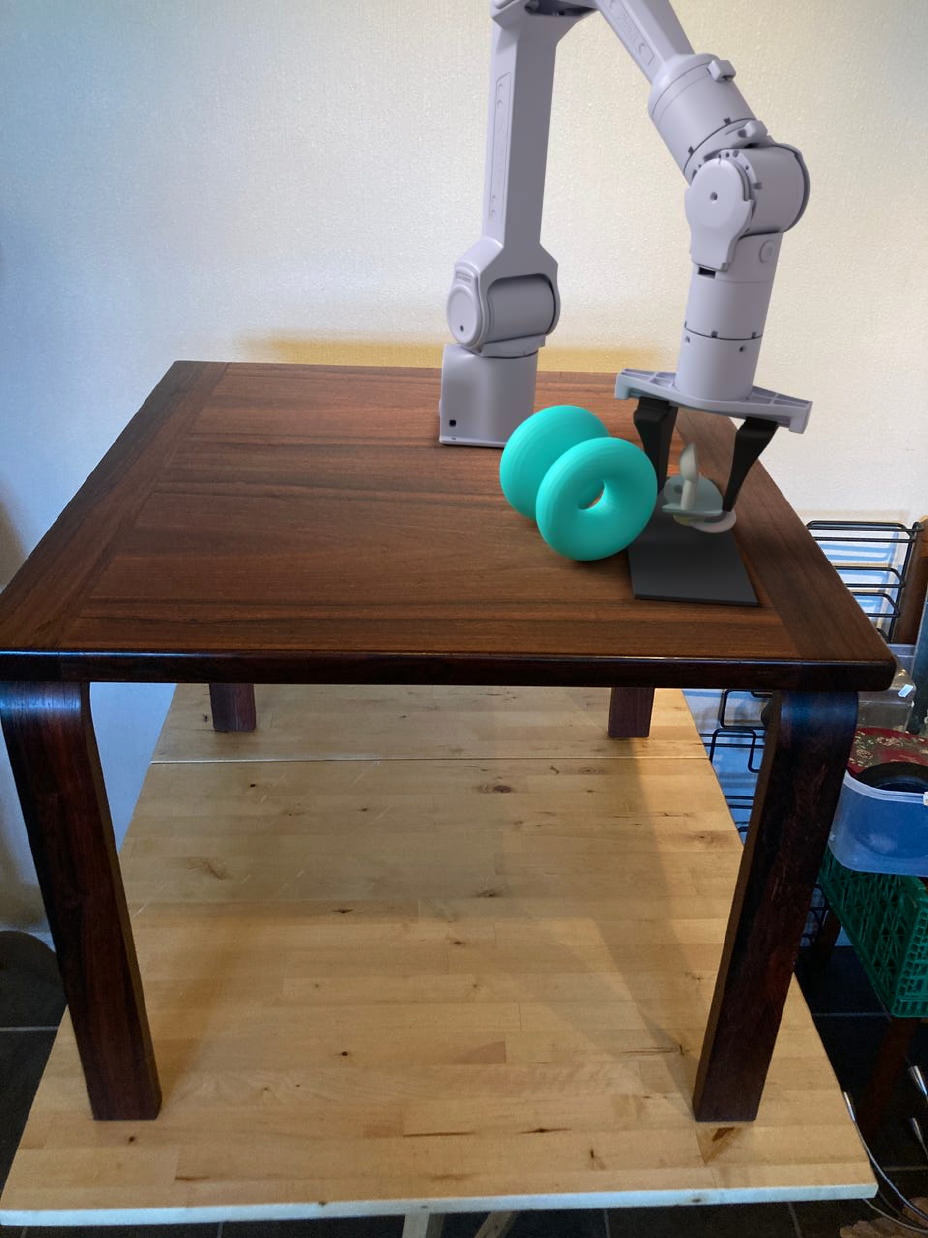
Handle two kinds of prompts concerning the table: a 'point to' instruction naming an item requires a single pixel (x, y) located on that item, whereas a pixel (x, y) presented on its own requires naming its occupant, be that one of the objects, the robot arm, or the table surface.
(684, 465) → the pacifier
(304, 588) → the table surface
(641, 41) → the robot arm
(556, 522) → the donuts
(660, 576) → the placemat
